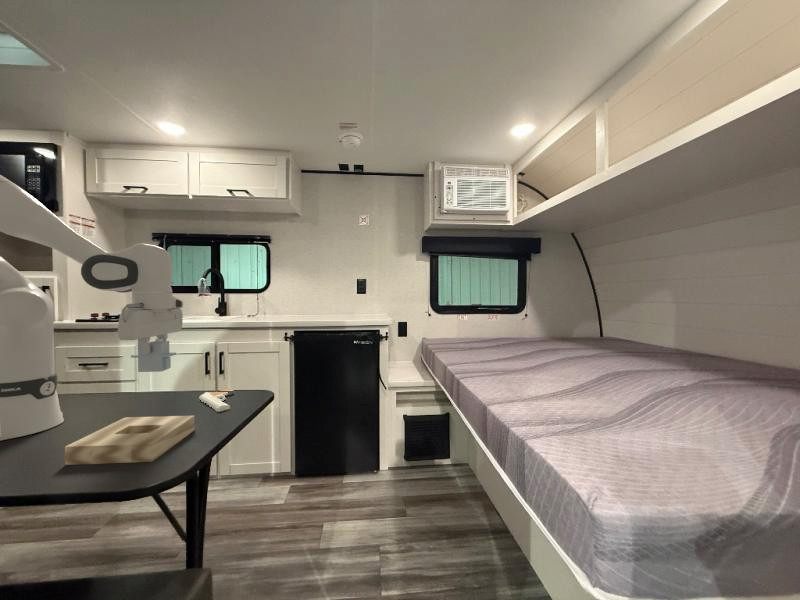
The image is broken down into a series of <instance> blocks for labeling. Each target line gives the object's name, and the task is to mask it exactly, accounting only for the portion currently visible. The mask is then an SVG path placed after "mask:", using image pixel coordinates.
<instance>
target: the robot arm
mask: <svg viewBox="0 0 800 600" xmlns="http://www.w3.org/2000/svg"><path fill="white" fill-rule="evenodd" d="M0 232H1V233H3V234H6V235H8V236H12V237H14V238H15V237H16V238H19V239H23V240H26V241H28V242H32V243H35V244H38V245H39V244H40V245H43V246H46V247H49V248H51V249H53V250H56V251H57V252H59V253H61V254H63V255H65V256H66V257H68V258H70V259H71V260H73V261H76V262H77V263H78V264H80V265H81V268H80V275H81V278H82V279H83V281H84V282H85V283H86V284H87V285H88V286H90V287H92V288H95V289H97V290H100V291H107V292H108V291H109V292H117V293H131V303H127V304H126V305H125V306H124V307H123V308H122V309H121V313H120V314H119V317H118V325H117V338H118V339H119V340H120V341H127V342H128V341H137V344H138V343H139V344H140V346H141V348H142V354H150V353H152V352H153V350H152V349H153V347H150V344H149V341H151V337H156V339H164V341H168V337H169V336H168V334H172V333H179V332H181V330H182V328H183V320H184V319H183V309H182V308H183V307H184V302H183V300H181V299H179V298H177V297H176V296H174V295H173V289H172V285H171V283H172V279H173V264H172V258H171V255H170V254H171V253H169V251H168V250H166V249H165V248H163V247H161V246H158V245H153V244H148V243H134V244H133V245H132V246H129V247H127V248H125V249H121V250H118V251H113V252H108V251H106V250H105V249H104V248H102V247H100V246H98V244H96V243H94V242H93V241H91V240H89V239H87V238H86V237H84V236H83V235H81V234H79V233H78V232H76V231H75V230H74V229H72V228H71V227H70V226H69V225H67V224H66V223H65V222H64V221H62V219H60V218H59V216H57V215H56V214H54V213H53V212H52V211H51V210H49V209H48V208H47V207H46V206H45V205H44V204H43V203H42V202H40V201H39V200H38V199H37V198H35V197H34V196H33V195H31V194H30V193H28V192H27V191H26V190H25V189H23V188H22V187H20V186H19V185H17V184H16V183H14V182H13V181H11V180H10V179H8V178H7V177H5V176H4V175H1V174H0ZM54 309H55V305H54V302H53V299H52V298H51V297H50V296H49V295H48V294H47V293H46V292H45V291H43V290H42V289H41V288H39V286H37V285H36V284H35V283H33V282H32V281H31V280H30V279H28V277H27V276H25V275H24V274H23V273H21V272H20V271H19V270H18V269H16V268H15V267H14V266H13V265H12V264H11V263H9V262H8V261H7V260H6V259H4V258H3V257H2V256H1V255H0V442H1V441H4V440H10V439H14V438H19V437H24V436H29V435H32V434H36V433H40V432H44V431H46V430H49V429H52V428H54V427H56V426H59V425H61V424H63V422H64V421H65V419H64V417H63V415H64V414H63V411H61V410H62V409H61V407H60V401H59V396H58V391H57V386H58V374H57V373H56V372H55V369H56V366H55V364H56V363H55V361H56V360H55V331H54V330H55V329H54V326H55V325H54Z"/></svg>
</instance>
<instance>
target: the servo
mask: <svg viewBox="0 0 800 600" xmlns="http://www.w3.org/2000/svg"><path fill="white" fill-rule="evenodd" d="M149 344H150V347H153V349H152V350H153V352H152V353H150V354H142V348H141V346H140V344H139V343H138V342H137V353H135V354H131V355H130V359H131V358H134V359H135V358H137V368H138V369H137V372H138V373H151V372H152V373H153V372H154V373H155V372H156V373H157V372H164V371H167V370H169V369H171V367H172V365H171V362H172V361H171V357H173V356H176V355H177V352H170V340H166V341H164V339H158V338H155V340H150V341H149Z"/></svg>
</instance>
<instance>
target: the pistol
mask: <svg viewBox="0 0 800 600" xmlns="http://www.w3.org/2000/svg"><path fill="white" fill-rule="evenodd" d="M219 391H234V390H233V389H230V388H224V389H221V390H219ZM227 394H228V392H217V391H215V392H214V391H213V392H211V391H210V392H207V391H205V392H204V393H203V394H201V395H200V396H198V400H199V399H200V400H201V401H200V400H199V401H200V402H202V403H203V402H204V403H203V404H205V403H206V404H205V405H207V406H208V405H209V406H208V407H210V408H211V407H212V409H213V410H215V412H218V413H221V412H224V411H228V410H230V409H231V405H229V404H227V403H226V402H225V401H224V400H225V399H226V400H227V397H225V395H227ZM220 398H222V399H220ZM222 401H224V402H222Z"/></svg>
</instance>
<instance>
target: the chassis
mask: <svg viewBox="0 0 800 600" xmlns="http://www.w3.org/2000/svg"><path fill="white" fill-rule="evenodd" d="M195 417H196V416H195V415H167V416H166V415H165V416H131V417H130V416H128V417H127V416H126V417H123V418H121V419H119V420H117V421H114V422H112V423H110V424H109V425H106V426H105V427H103V428H100V429H98V430H96V431H94V432H92V433H90V434H88V435H86V436H84V437H81V438H80V439H78V440H76V441H74V442H71V443H70V444H66V446H64V465H65V466H69V465H70V466H71V465H72V466H73V465H95V464H96V465H97V464H98V465H99V464H124V463H125V464H126V463H149V462H151V463H152V462H154V461H155V460H157V459H158V458H159V457H161V456H162V455H163V454H164V453H166V452H167V451H168V450H170V449H171V448H173V447H174V446H175V445H177V444H178V443H179V442H181V441H183V439H184V438H186V437H187V436H189V435H190V434H191V433H193V432H194V431H195V429H196V428H195V427H196V425H195V423H196V421H195V420H196V419H195Z"/></svg>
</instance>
